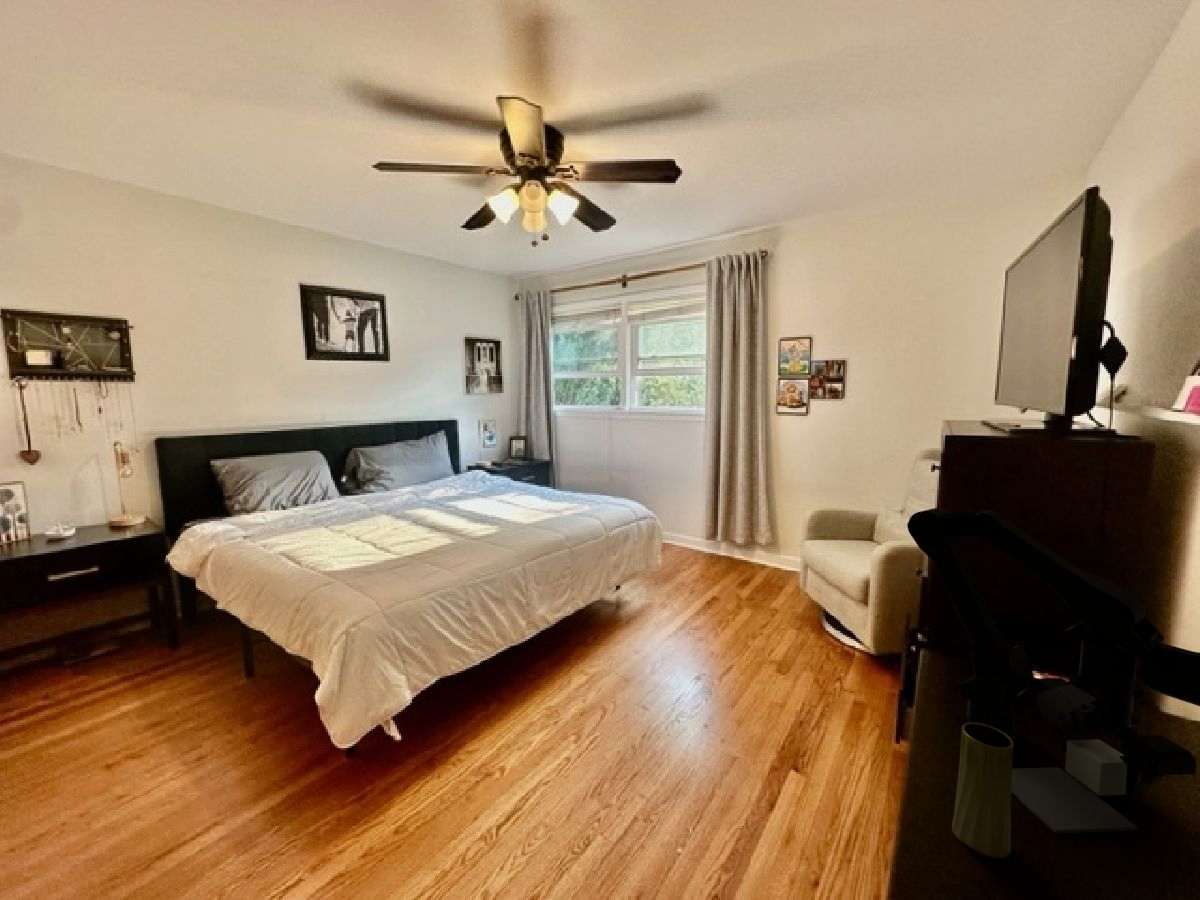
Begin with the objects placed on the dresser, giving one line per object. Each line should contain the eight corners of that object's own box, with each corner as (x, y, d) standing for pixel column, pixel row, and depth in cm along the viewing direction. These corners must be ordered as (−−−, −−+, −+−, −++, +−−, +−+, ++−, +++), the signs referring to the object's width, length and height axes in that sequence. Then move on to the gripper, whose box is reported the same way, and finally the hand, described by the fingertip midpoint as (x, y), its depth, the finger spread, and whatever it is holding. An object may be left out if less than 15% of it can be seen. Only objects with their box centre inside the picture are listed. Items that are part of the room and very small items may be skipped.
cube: (1065, 770, 77) (1067, 740, 76) (1096, 770, 77) (1099, 739, 77) (1098, 796, 72) (1101, 763, 71) (1131, 795, 72) (1134, 762, 72)
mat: (988, 772, 77) (988, 769, 76) (1058, 770, 77) (1058, 767, 77) (1056, 833, 66) (1056, 829, 66) (1137, 830, 66) (1137, 827, 66)
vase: (953, 812, 69) (959, 714, 68) (1011, 836, 65) (1018, 732, 64) (949, 842, 64) (955, 737, 63) (1011, 870, 60) (1019, 758, 59)
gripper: (999, 645, 82) (993, 735, 83) (1121, 715, 63) (1111, 830, 65) (1065, 644, 82) (1058, 733, 84) (1205, 713, 64) (1194, 827, 65)
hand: (1097, 775), depth 74 cm, fingers open, 9 cm apart
